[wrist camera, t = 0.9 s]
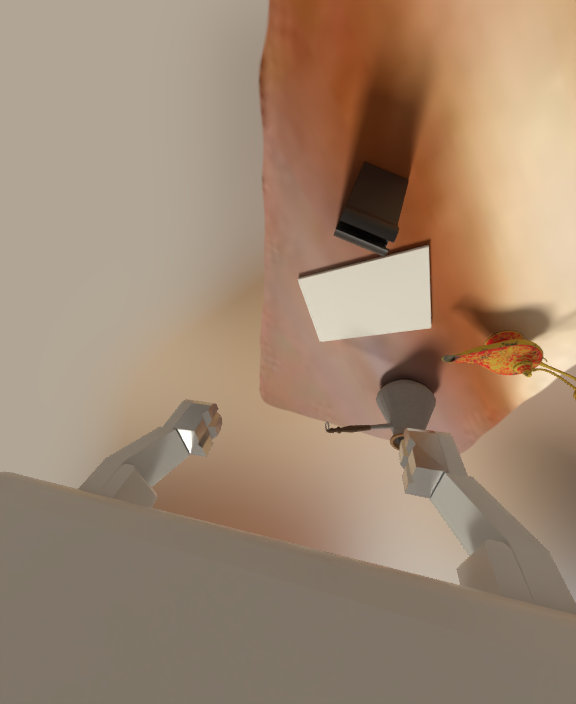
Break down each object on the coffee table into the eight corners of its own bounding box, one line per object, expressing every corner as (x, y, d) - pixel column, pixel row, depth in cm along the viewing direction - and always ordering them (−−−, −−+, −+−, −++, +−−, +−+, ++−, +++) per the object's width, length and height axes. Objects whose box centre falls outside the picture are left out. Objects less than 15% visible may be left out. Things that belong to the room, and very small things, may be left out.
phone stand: (364, 161, 30) (358, 172, 22) (408, 179, 30) (420, 199, 22) (334, 232, 37) (321, 264, 28) (371, 248, 37) (368, 284, 28)
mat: (427, 244, 34) (428, 246, 34) (430, 325, 42) (431, 327, 41) (298, 277, 43) (297, 279, 42) (320, 339, 51) (320, 341, 50)
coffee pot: (444, 380, 49) (462, 450, 38) (419, 412, 57) (428, 477, 46) (339, 356, 52) (329, 414, 42) (330, 389, 60) (319, 445, 50)
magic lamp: (443, 316, 40) (458, 360, 33) (572, 334, 37) (624, 389, 29) (427, 347, 45) (437, 392, 37) (540, 365, 41) (577, 420, 34)
